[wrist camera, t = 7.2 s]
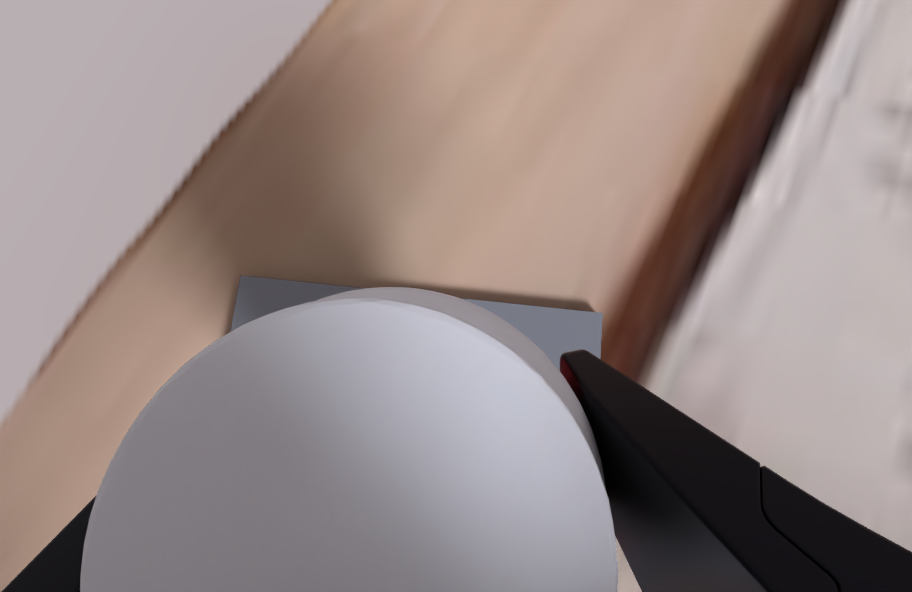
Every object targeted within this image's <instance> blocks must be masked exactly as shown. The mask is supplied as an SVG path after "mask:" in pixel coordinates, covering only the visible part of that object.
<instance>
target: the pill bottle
mask: <svg viewBox="0 0 912 592" xmlns="http://www.w3.org/2000/svg"><path fill="white" fill-rule="evenodd" d="M617 584H618V566H617V556H616V540H615V533H614V525H613V519H612V514H611V509H610V504H609V499H608V496H607V493H606V487H605V480H604V473H603V468H602V462H601V458H600V454H599V451H598V447H597V444H596V441H595V437H594V434H593V431H592V428H591V426H590V423H589V421H588V419H587V416H586V414H585V412H584V410H583V408H582V406H581V404H580V402H579V400H578V399H577V397H576V395H575V394H574V392H573V390H572V389H571V387H570V385H569V384H568V382H567V381H566V379H565V378H564V376H563V375H562V374H561V372H560V371H559V370H558V368H557V367H556V366H555V365H554V364H553V362H552V361H551V360H550V359H549V358H548V357H547V355H546V354H545V353H544V352H543V351H542V350H541V349H540V348H539V347H538V346H537V345H536V344H535V343H534V342H533V341H531V340H530V339H529V338H528V337H527V336H525V335H524V334H523V333H522V332H520V331H519V330H518V329H516V328H515V327H514V326H512V325H511V324H509V323H508V322H506V321H505V320H503V319H502V318H500V317H499V316H497V315H496V314H494V313H493V312H491V311H489V310H487V309H484V308H482V307H480V306H478V305H475V304H473V303H471V302H468V301H466V300H463V299H460V298H458V297H455V296H451V295H447V294H443V293H439V292H436V291H430V290H423V289H417V288H407V287H376V288H365V289H358V290H351V291H346V292H342V293H339V294H335V295H331V296H328V297H324V298H321V299H319V300H316V301H313V302H307V303H304V304H300V305H296V306H292V307H289V308H285V309H282V310H279V311H276V312H273V313H270V314H267V315H265V316H262V317H260V318H258V319H255V320H253V321H251V322H248V323H246V324H244V325H242V326H240V327H238V328H237V329H235V330H233V331H232V332H230V333H228V334H226V335H225V336H223V337H221V338H219V339H218V340H216V341H214V342H213V343H212V344H210V345H209V346H208V347H206V348H205V349H204V350H202V351H201V352H199V353H198V354H197V355H195V356H194V357H193V358H192V359H190V360H189V361H188V362H187V363H186V364H184V365H183V366H182V367H181V368H180V369H179V370H178V371H177V372H176V373H175V374H174V375H173V376H172V377H171V378H170V379H169V380H168V381H167V382H166V383H165V384H164V385H163V386H162V387H161V388H160V389H159V391H158V392H157V393H156V394H155V395H154V397H153V398H152V399H151V400H150V401H149V403H148V404H147V405H146V406H145V407H144V409H143V410H142V411H141V412H140V414H139V415H138V417H137V418H136V420H135V421H134V423H133V424H132V426H131V427H130V429H129V431H128V432H127V434H126V435H125V437H124V439H123V440H122V442H121V444H120V446H119V447H118V449H117V451H116V453H115V455H114V456H113V458H112V460H111V462H110V464H109V467H108V469H107V471H106V474H105V476H104V478H103V481H102V483H101V485H100V488H99V490H98V492H97V496H96V499H95V502H94V505H93V508H92V511H91V514H90V518H89V523H88V528H87V532H86V537H85V541H84V547H83V557H82V566H81V578H80V592H617Z"/></svg>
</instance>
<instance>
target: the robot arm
mask: <svg viewBox="0 0 912 592" xmlns="http://www.w3.org/2000/svg"><path fill="white" fill-rule="evenodd" d="M560 372H561V374H562V375H563V376H564V378H565V379H566V381H567V382H568V384H569V385H570V387H571V389H572V390H573V392H574V394H575V395H576V397H577V399H578V400H579V402H580V404H581V406H582V408H583V410H584V412H585V414H586V416H587V419H588V421H589V423H590V426H591V428H592V431H593V434H594V437H595V441H596V444H597V447H598V451H599V454H600V458H601V462H602V468H603V473H604V480H605V487H606V493H607V496H608V499H609V504H610V509H611V514H612V519H613V525H614V533H615V536H616V538H617V540H618V542H619V544H620V546H621V548H622V550H623V553H624V555H625V557H626V559H627V561H628V563H629V565H630V567H631V569H632V571H633V573H634V576H635V578H636V580H637V582H638V584H639V586H640V588H641V590H642V592H912V552H910V551H909V550H907V549H905V548H903V547H901V546H899V545H898V544H896V543H894V542H892V541H890V540H888V539H887V538H885V537H883V536H881V535H879V534H877V533H876V532H874V531H872V530H870V529H868V528H867V527H865V526H863V525H861V524H859V523H858V522H856V521H854V520H852V519H851V518H849V517H847V516H845V515H844V514H842V513H840V512H838V511H837V510H835V509H833V508H831V507H830V506H828V505H826V504H824V503H823V502H821V501H820V500H818V499H816V498H815V497H813V496H811V495H810V494H808V493H807V492H805V491H803V490H802V489H800V488H799V487H797V486H795V485H794V484H792V483H791V482H789V481H787V480H786V479H784V478H783V477H781V476H780V475H778V474H777V473H775V472H773V471H772V470H770V469H769V468H767V467H766V466H762V467H761V468H760V463H759V462H758V461H756V460H755V459H753V458H752V457H750V456H749V455H747V454H745V453H744V452H742V451H741V450H739V449H738V448H736V447H735V446H733V445H732V444H730V443H729V442H727V441H725V440H724V439H722V438H721V437H719V436H718V435H716V434H715V433H713V432H712V431H710V430H709V429H707V428H705V427H704V426H702V425H701V424H699V423H698V422H696V421H695V420H693V419H692V418H690V417H689V416H687V415H685V414H684V413H682V412H681V411H679V410H678V409H676V408H675V407H673V406H672V405H670V404H669V403H667V402H665V401H664V400H662V399H661V398H659V397H658V396H656V395H655V394H653V393H652V392H650V391H649V390H647V389H645V388H644V387H642V386H641V385H639V384H638V383H636V382H635V381H633V380H632V379H630V378H629V377H627V376H625V375H624V374H622V373H621V372H619V371H618V370H616V369H615V368H613V367H612V366H610V365H609V364H607V363H605V362H604V361H602V360H601V359H599V358H598V357H596V356H595V355H593V354H592V353H590V352H589V351H587V350H584V349H580V350H575V351H570V352H565V353H563V354H562V355H561V356H560ZM96 496H97V495H96ZM96 496H95V497H94V498H93V499H92V500H91V501H90V502H89V503H88V504H87V505H86V506H85V507H84V509H83V510H82V511H81V512H80V513H79V514H78V515H77V516H76V517H75V518H74V519H73V520H72V521H71V522H70V523H69V524H68V525H67V526H66V527H65V528H64V529H63V530H62V531H61V532H60V533H59V534H58V535H57V536H56V537H55V538H54V539H53V540H52V541H51V542H50V543H49V544H48V545H47V546H46V547H45V548H44V549H43V550H42V551H41V552H40V553H39V554H38V555H37V556H36V557H35V558H34V559H33V560H32V561H31V562H30V563H29V564H28V565H27V566H26V567H25V568H24V569H23V570H22V571H21V573H20V574H19V575H18V576H17V577H16V578H15V579H14V580H13V581H12V582H11V583H10V584H9V585H8V586H7V587H6V588H5V589H4V590H3V591H2V592H80V578H81V566H82V557H83V547H84V541H85V537H86V532H87V528H88V523H89V518H90V514H91V511H92V508H93V505H94V502H95V499H96Z"/></svg>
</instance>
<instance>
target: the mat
mask: <svg viewBox="0 0 912 592" xmlns="http://www.w3.org/2000/svg"><path fill="white" fill-rule="evenodd" d="M358 289H365V288H357V287H348V286H338V285H329V284H319V283H309V282H300V281H290V280H281V279H271V278H261V277H252V276H242V275H241V276H240V281H239V287H238V292H237V298H236V303H235V309H234V315H233V320H232V326H231V331H230V332H232V331H233V330H235V329H237V328H238V327H240V326H242V325H244V324H246V323H248V322H251V321H253V320H255V319H258V318H260V317H262V316H265V315H267V314H270V313H273V312H276V311H279V310H282V309H285V308H289V307H292V306H296V305H300V304H304V303H307V302H313V301H316V300H319V299H321V298H324V297H328V296H331V295H335V294H339V293H342V292H346V291H351V290H358ZM460 299H463V298H460ZM463 300H466V301H468V302H471V303H473V304H475V305H478V306H480V307H482V308H484V309H487V310H489V311H491V312H493V313H494V314H496V315H497V316H499V317H500V318H502V319H503V320H505V321H506V322H508V323H509V324H511V325H512V326H514V327H515V328H516V329H518V330H519V331H520V332H522V333H523V334H524V335H525V336H527V337H528V338H529V339H530V340H531V341H533V342H534V343H535V344H536V345H537V346H538V347H539V348H540V349H541V350H542V351H543V352H544V353H545V354H546V355H547V357H548V358H549V359H550V360H551V361H552V362H553V364H554V365H555V366H556V367H557V368H558V370H559V371H560V356H561V355H562V354H563V353H565V352H570V351H575V350H580V349H584V350H587V351H589V352H590V353H592V354H593V355H595V356H596V357H598V358H599V359H600V354H601V334H602V314H603V313H598V312H588V311H578V310H569V309H559V308H550V307H540V306H530V305H521V304H511V303H502V302H492V301H482V300H473V299H463Z"/></svg>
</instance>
